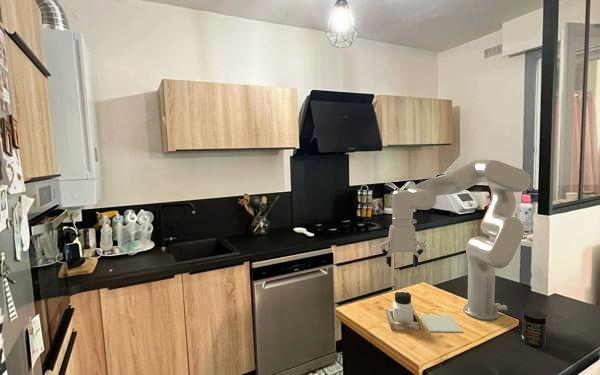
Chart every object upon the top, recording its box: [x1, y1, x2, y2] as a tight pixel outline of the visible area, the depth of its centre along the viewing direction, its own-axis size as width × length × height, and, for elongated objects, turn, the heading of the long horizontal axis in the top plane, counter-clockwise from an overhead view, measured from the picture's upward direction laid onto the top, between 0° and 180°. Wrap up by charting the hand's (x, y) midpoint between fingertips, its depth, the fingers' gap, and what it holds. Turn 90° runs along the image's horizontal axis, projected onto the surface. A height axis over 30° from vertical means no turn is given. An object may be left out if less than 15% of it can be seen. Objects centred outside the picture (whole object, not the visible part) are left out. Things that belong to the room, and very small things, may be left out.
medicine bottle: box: [392, 290, 415, 322], centre depth 127 cm, size 7×7×12 cm
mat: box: [419, 314, 464, 333], centre depth 125 cm, size 12×12×1 cm
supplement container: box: [521, 309, 548, 349], centre depth 110 cm, size 7×7×10 cm
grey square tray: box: [385, 308, 423, 331], centre depth 127 cm, size 11×11×2 cm
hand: (402, 265), depth 125 cm, fingers open, 9 cm apart
